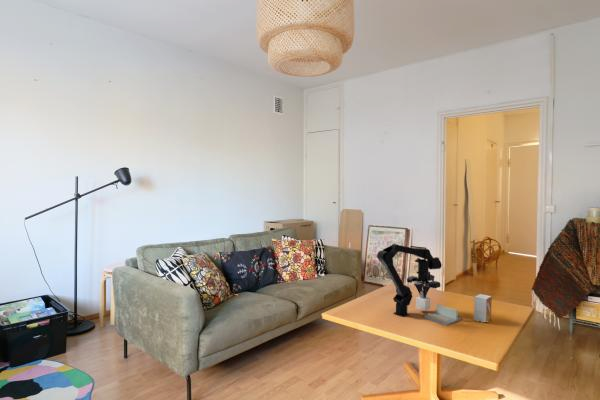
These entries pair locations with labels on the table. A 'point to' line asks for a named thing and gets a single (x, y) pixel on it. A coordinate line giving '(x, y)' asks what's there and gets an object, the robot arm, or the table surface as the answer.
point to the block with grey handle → (422, 302)
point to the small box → (482, 308)
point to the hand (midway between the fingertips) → (423, 296)
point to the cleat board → (444, 315)
